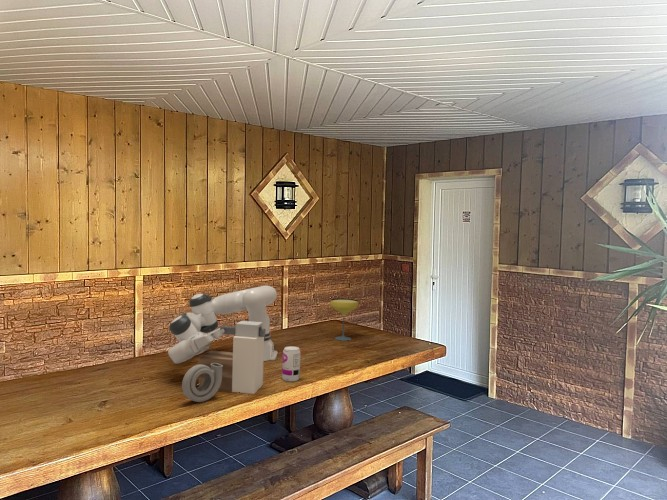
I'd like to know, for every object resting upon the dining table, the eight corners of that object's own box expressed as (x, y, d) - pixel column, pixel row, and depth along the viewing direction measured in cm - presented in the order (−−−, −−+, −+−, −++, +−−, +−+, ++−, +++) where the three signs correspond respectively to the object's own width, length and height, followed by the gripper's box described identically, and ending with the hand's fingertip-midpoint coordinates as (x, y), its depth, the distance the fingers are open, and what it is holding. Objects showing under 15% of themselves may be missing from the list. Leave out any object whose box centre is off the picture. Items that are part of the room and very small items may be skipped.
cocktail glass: (325, 336, 332) (327, 298, 331) (351, 335, 338) (353, 298, 336) (334, 342, 315) (335, 302, 314) (361, 341, 321) (362, 302, 319)
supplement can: (283, 382, 235) (284, 350, 234) (280, 377, 243) (281, 346, 242) (300, 381, 237) (302, 350, 236) (297, 376, 245) (298, 345, 244)
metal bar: (222, 332, 227) (222, 325, 227) (265, 335, 224) (265, 328, 223) (219, 333, 224) (220, 326, 224) (263, 337, 221) (263, 330, 221)
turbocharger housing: (187, 407, 200) (188, 370, 199) (179, 403, 204) (179, 366, 203) (223, 397, 212) (224, 362, 211) (214, 393, 217) (215, 359, 216)
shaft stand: (241, 383, 232) (243, 319, 230) (262, 385, 230) (264, 321, 228) (231, 391, 220) (233, 324, 218) (254, 394, 218) (255, 326, 216)
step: (209, 380, 234) (210, 350, 233) (241, 383, 232) (242, 353, 231) (198, 388, 222) (199, 357, 222) (231, 391, 220) (232, 360, 219)
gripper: (213, 343, 238) (237, 330, 235) (193, 354, 218) (220, 340, 215) (207, 331, 238) (231, 318, 235) (187, 341, 218) (213, 327, 215)
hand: (226, 329), depth 225 cm, fingers closed on metal bar, 3 cm apart
